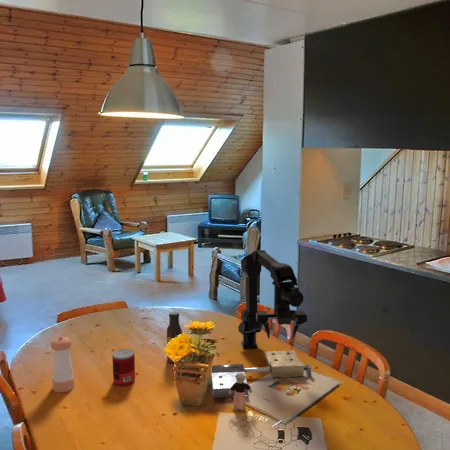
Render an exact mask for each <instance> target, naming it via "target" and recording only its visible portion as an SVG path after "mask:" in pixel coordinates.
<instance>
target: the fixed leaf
mask: <svg viewBox="0 0 450 450" xmlns="http://www.w3.org/2000/svg"><path fill="white" fill-rule="evenodd" d="M212 365H213V367H212V373H211V372H210V377H211V387H212V397H213V398H214V399H215V398H216V399H218V398H219V397H220V398H231V397H230V396H234V393H235V390H233V391H232V393H231V394H230V395H229V394H228V392H229V390H230V388H231V387H232V386H233V385H234V383H236V382H237V380H236V374H237V373H240V372H241V373H243V374H244V375H245V376H246V374H247V373H248V374H249V373H270V372H272V367H268V366H266V367H265V366H264V367H244V366H245V365H244V364H243V363H238V364H235V363H233V364H212ZM304 371H305V374H306V373H307V374H306V375H308V376H307V377H311V376H312V366H311V365H310V364H309V363H306V364H305V365H304ZM310 375H311V376H310ZM244 383H246V384H248V381H247V378H245V380H244ZM245 395H248V396H249V391H248V390H247V389H245Z"/></svg>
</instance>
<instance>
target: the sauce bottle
mask: <svg viewBox="0 0 450 450" xmlns="http://www.w3.org/2000/svg"><path fill="white" fill-rule="evenodd" d="M168 317H169V325H168V326H167V328H166V344H167V343H168V342H169V341H170V340H171V339H172V338H175V337H177V335H179V334H182V335H183V331H182V327H181V325H180V312H178V311H170V312H169V313H168ZM166 359H167V362H168V363H171V364H174V363H173V361H172V360H171V359H170V358H169V357H168V356H167V355H166Z"/></svg>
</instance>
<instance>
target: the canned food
mask: <svg viewBox="0 0 450 450" xmlns="http://www.w3.org/2000/svg"><path fill="white" fill-rule="evenodd" d="M135 363H136V362H135V351H134V350H133V349H132V348H131V349H130V348H120V349H118V350H115V351H113V352H112V372H113V373H112V378H113V383H114V385H116V386H118V387H125V386H129V385H131V384H133V383H134V382H135V378H136V368H135V367H136V366H135V365H136V364H135Z"/></svg>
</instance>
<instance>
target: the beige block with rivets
mask: <svg viewBox="0 0 450 450" xmlns="http://www.w3.org/2000/svg"><path fill="white" fill-rule="evenodd" d="M264 360H265V362H266V365H267V366H266V367H272V372H269V373H270V377H271V378H273V379H274V377H279V378H291V377H290V376H304V366H305V365H304V363H303V362H302V360H300V359H299V358H298V356H297V354H296V352H295V350H271V351H270V350H269V351H264Z"/></svg>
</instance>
